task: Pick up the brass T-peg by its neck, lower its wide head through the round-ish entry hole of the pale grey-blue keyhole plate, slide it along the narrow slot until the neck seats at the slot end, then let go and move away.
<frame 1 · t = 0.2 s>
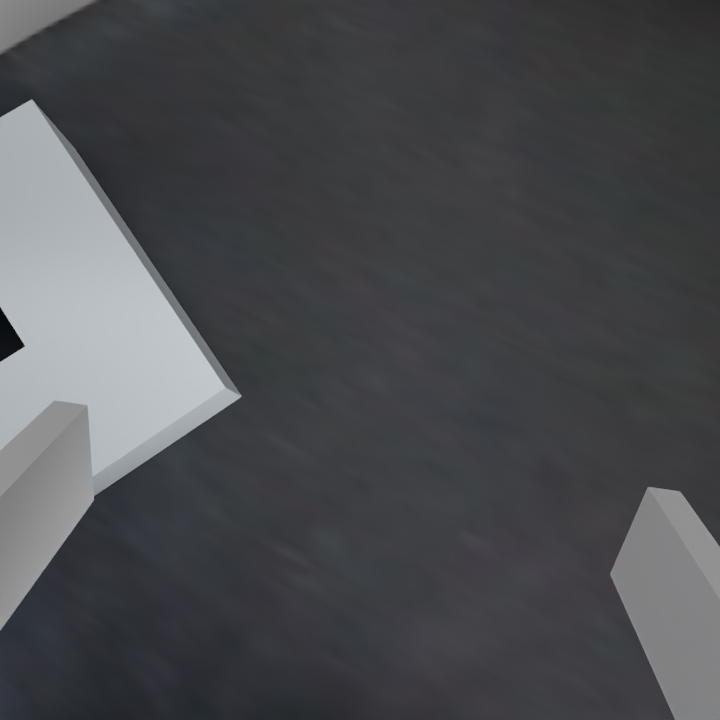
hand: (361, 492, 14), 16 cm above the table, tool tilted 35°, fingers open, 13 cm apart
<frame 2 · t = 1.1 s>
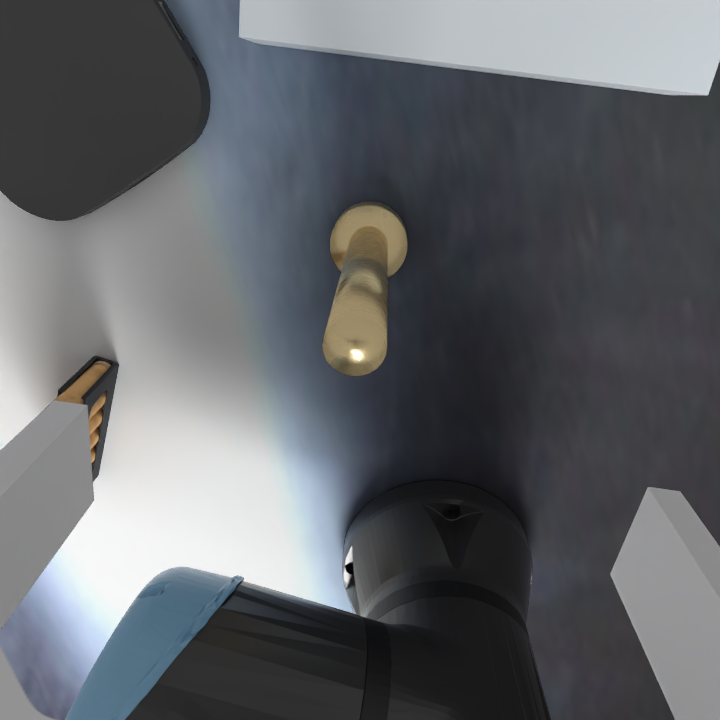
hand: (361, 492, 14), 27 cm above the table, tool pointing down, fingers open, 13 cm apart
ammunition clip: (97, 417, 45), on the table
brass peg: (369, 238, 38), on the table
media streaming box: (70, 70, 35), on the table
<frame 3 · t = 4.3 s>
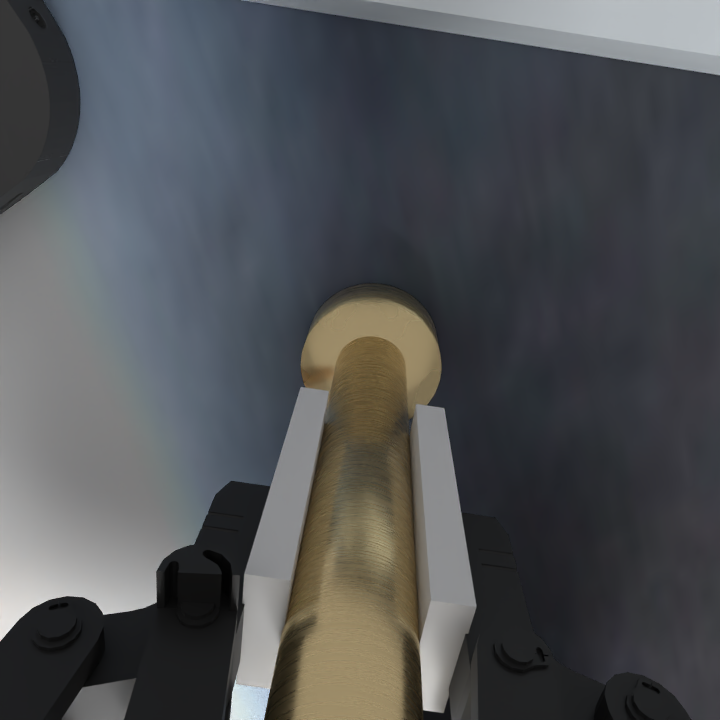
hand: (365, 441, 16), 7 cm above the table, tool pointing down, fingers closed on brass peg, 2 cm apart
brass peg: (372, 345, 22), on the table, touching gripper
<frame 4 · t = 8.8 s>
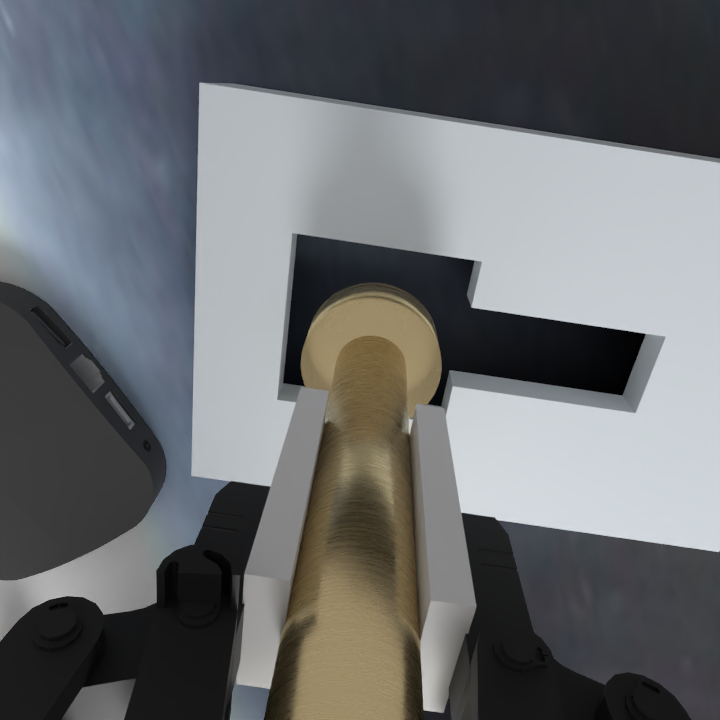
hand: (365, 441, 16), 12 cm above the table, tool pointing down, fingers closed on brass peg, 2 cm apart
brass peg: (372, 344, 22), point 6 cm above the table, touching gripper
media streaming box: (11, 428, 32), on the table
keyhole plate: (483, 313, 27), on the table
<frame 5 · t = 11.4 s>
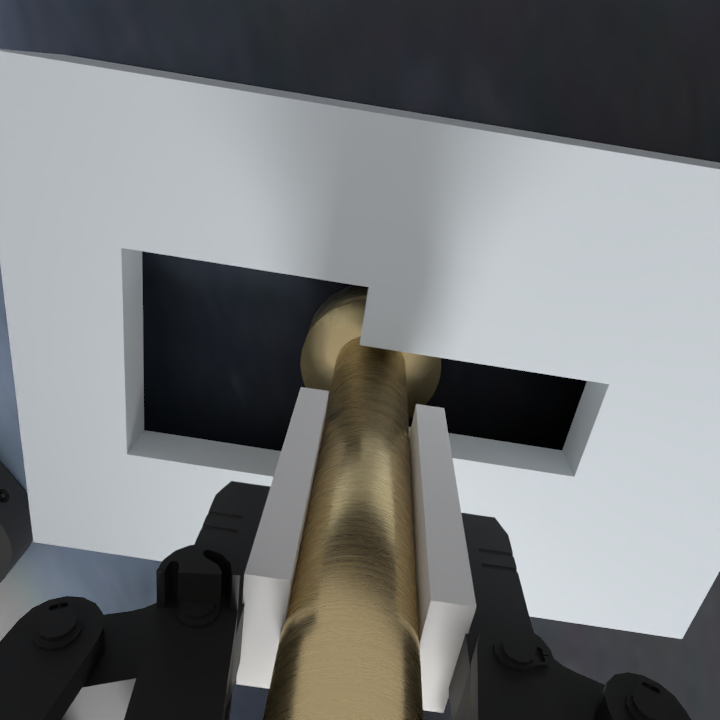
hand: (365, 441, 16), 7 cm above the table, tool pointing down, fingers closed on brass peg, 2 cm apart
brass peg: (372, 344, 22), resting in keyhole plate, touching gripper
keyhole plate: (398, 344, 22), on the table
when the fingers open (7 cm above the table, at t = 13.4 s): brass peg stays where it is, resting in keyhole plate.
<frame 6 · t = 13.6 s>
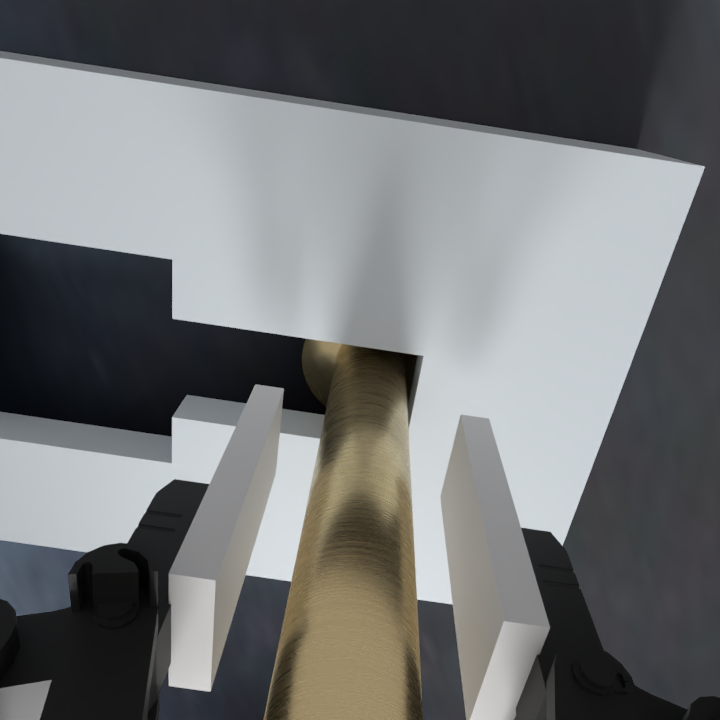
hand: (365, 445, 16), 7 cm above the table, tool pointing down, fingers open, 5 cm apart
brass peg: (372, 340, 22), resting in keyhole plate
keyhole plate: (252, 323, 22), on the table
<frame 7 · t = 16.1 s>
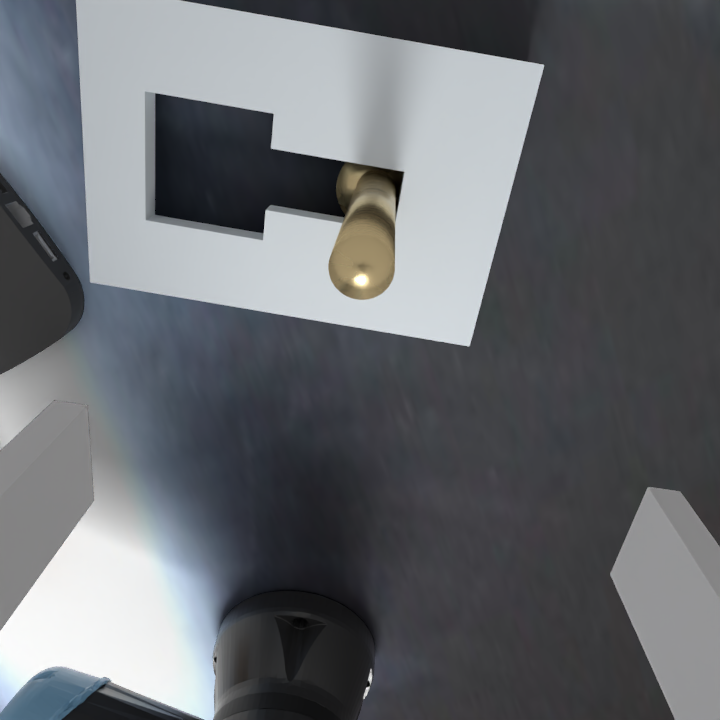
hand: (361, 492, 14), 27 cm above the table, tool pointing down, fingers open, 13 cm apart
brass peg: (376, 184, 37), resting in keyhole plate
keyhole plate: (305, 172, 37), on the table
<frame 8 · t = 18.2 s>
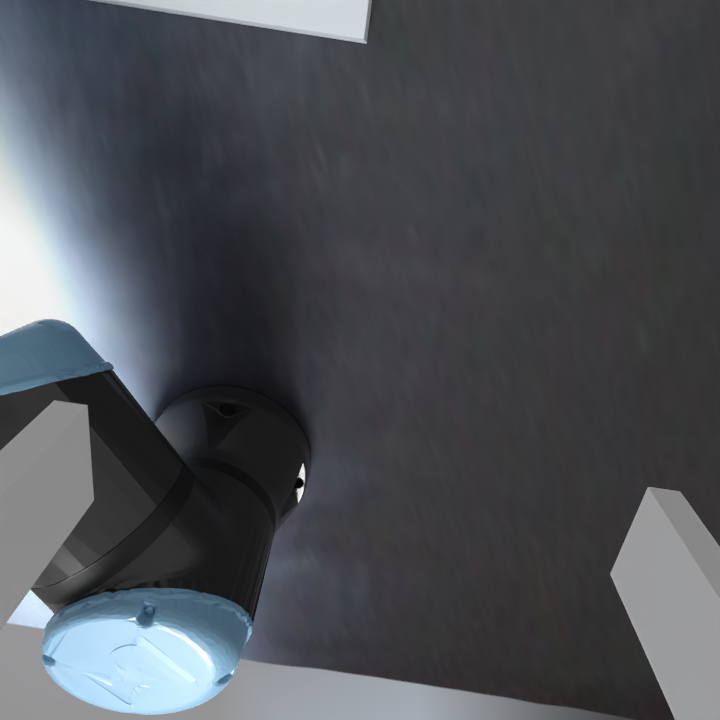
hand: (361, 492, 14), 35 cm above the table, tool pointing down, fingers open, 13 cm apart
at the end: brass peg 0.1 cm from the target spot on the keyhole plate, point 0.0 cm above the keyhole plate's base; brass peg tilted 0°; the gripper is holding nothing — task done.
